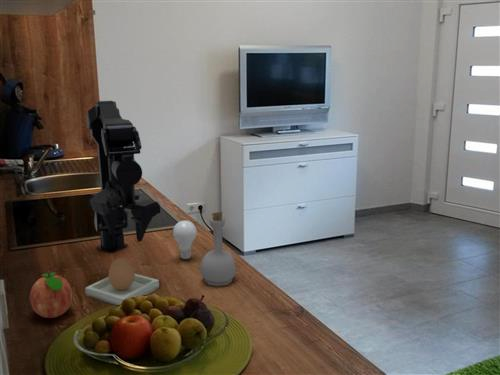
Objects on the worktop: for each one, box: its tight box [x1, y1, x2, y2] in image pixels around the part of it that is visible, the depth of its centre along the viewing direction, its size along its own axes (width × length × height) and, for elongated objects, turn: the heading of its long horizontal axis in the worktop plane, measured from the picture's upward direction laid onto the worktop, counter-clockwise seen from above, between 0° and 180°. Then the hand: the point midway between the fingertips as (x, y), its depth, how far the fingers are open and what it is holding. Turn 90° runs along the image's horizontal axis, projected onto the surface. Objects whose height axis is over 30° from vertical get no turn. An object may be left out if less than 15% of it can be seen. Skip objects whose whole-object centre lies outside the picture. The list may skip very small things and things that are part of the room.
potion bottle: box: [199, 211, 237, 287], centre depth 129 cm, size 9×9×18 cm
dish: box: [84, 273, 160, 306], centre depth 125 cm, size 12×12×2 cm
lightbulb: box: [172, 220, 197, 261], centre depth 143 cm, size 6×6×11 cm
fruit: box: [29, 270, 74, 319], centre depth 113 cm, size 9×10×10 cm
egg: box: [108, 256, 136, 290], centre depth 124 cm, size 6×6×8 cm
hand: (125, 237), depth 128 cm, fingers open, 9 cm apart
